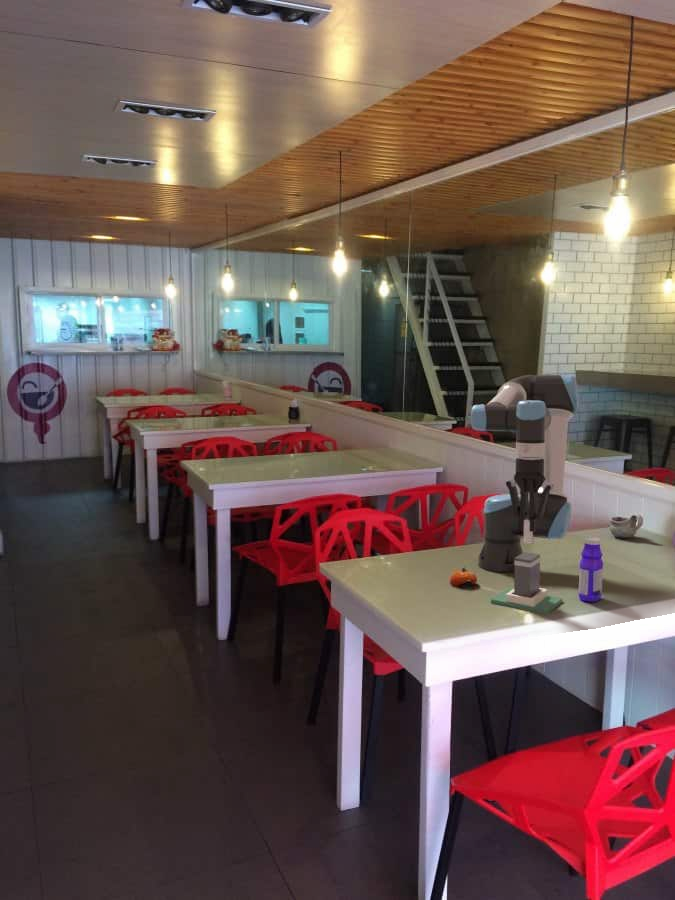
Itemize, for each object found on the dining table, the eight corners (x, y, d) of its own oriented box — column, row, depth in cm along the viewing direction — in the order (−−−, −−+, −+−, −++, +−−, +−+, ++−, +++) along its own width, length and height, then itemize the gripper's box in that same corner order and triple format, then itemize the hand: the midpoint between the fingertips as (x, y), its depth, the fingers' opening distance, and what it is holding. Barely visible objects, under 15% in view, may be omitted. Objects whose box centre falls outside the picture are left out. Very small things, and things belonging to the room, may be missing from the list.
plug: (513, 600, 201) (514, 557, 199) (524, 592, 207) (525, 551, 206) (529, 603, 198) (530, 560, 197) (540, 595, 204) (541, 553, 203)
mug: (617, 533, 278) (618, 507, 277) (649, 539, 269) (650, 512, 268) (604, 537, 272) (605, 511, 271) (636, 543, 263) (637, 516, 261)
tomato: (484, 578, 219) (473, 564, 215) (476, 598, 215) (465, 583, 212) (462, 577, 225) (451, 563, 221) (454, 596, 221) (443, 582, 218)
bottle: (584, 593, 209) (586, 534, 207) (604, 597, 205) (607, 537, 203) (575, 600, 203) (577, 539, 201) (595, 604, 200) (597, 543, 198)
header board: (490, 602, 202) (491, 592, 202) (508, 591, 212) (508, 581, 212) (546, 614, 193) (547, 603, 193) (562, 601, 203) (562, 591, 202)
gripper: (501, 457, 198) (500, 541, 201) (548, 461, 190) (546, 548, 193) (512, 454, 204) (510, 536, 207) (558, 457, 196) (555, 542, 199)
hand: (527, 542), depth 200 cm, fingers closed
